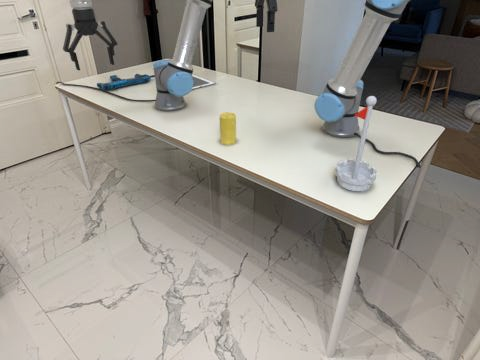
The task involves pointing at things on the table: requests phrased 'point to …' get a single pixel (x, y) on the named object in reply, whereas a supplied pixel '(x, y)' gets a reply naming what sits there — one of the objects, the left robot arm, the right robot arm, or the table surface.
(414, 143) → the table surface
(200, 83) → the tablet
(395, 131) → the table surface
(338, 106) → the right robot arm
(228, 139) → the canister
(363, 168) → the flag stand
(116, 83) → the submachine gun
